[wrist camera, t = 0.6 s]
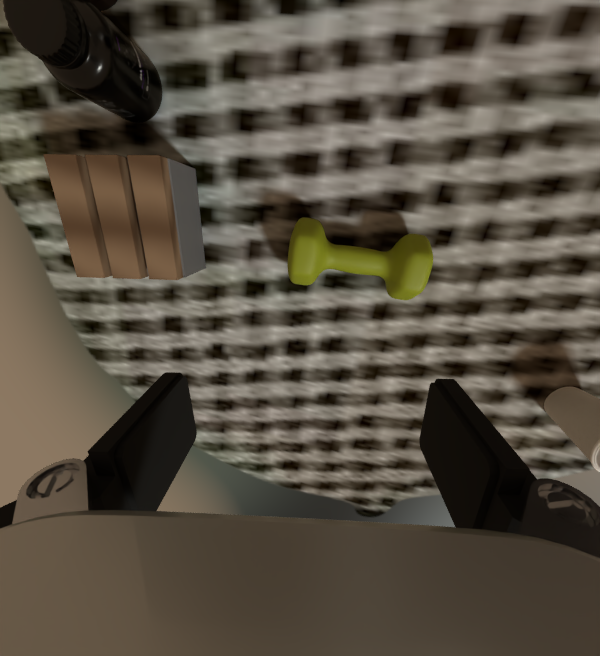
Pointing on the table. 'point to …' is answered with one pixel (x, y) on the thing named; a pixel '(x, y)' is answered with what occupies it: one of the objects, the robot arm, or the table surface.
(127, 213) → the pallet
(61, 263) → the table surface
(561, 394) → the dixie cup
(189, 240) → the dock
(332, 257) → the dumbbell
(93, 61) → the supplement bottle
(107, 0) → the coffee mug
